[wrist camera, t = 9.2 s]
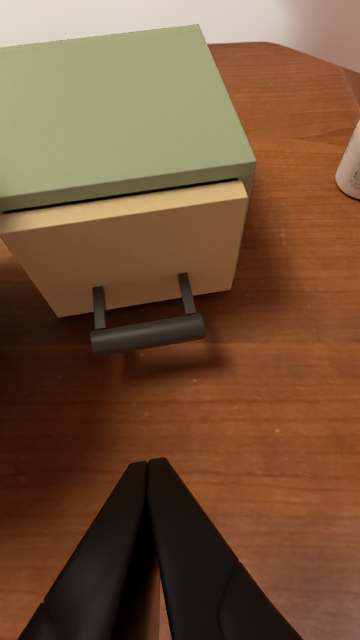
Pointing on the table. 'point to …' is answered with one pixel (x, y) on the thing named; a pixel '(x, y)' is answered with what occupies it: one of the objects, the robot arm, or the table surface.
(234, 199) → the drawer
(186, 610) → the robot arm
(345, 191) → the pill bottle
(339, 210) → the table surface
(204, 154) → the cabinet
